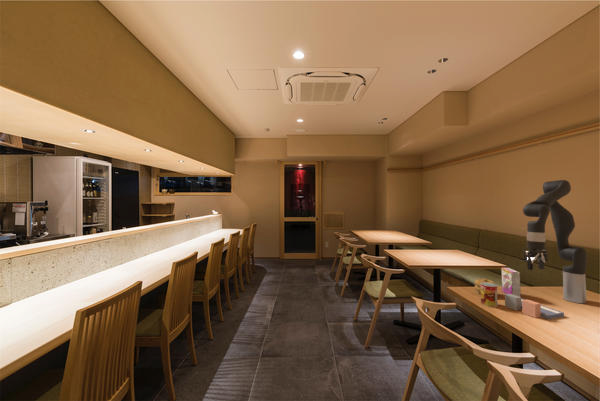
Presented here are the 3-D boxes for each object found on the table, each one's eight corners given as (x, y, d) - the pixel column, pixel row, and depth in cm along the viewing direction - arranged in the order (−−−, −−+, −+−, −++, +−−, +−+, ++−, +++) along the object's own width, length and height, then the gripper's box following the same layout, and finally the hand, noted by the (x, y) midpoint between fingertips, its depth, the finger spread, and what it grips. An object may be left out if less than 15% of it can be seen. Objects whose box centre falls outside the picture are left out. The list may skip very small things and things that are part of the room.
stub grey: (510, 305, 144) (509, 293, 144) (521, 309, 138) (521, 297, 138) (505, 306, 143) (504, 294, 143) (516, 310, 137) (516, 298, 137)
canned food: (480, 300, 152) (479, 281, 152) (496, 303, 148) (495, 283, 148) (481, 305, 145) (481, 285, 145) (498, 308, 141) (498, 287, 141)
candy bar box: (501, 291, 166) (500, 267, 166) (509, 291, 165) (509, 267, 165) (512, 297, 155) (511, 272, 155) (521, 298, 154) (520, 272, 154)
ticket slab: (521, 301, 149) (521, 298, 149) (564, 316, 129) (564, 312, 129) (506, 304, 146) (506, 300, 146) (548, 319, 126) (548, 315, 126)
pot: (477, 295, 159) (477, 280, 159) (472, 289, 170) (472, 275, 170) (499, 298, 155) (499, 282, 155) (493, 291, 165) (492, 277, 165)
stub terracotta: (527, 311, 135) (527, 299, 135) (540, 316, 129) (540, 303, 129) (522, 312, 134) (522, 300, 134) (535, 317, 128) (535, 304, 128)
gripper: (537, 238, 140) (537, 267, 140) (518, 239, 137) (518, 268, 137) (553, 240, 133) (553, 270, 133) (534, 241, 130) (534, 272, 129)
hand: (535, 269), depth 135 cm, fingers open, 8 cm apart
